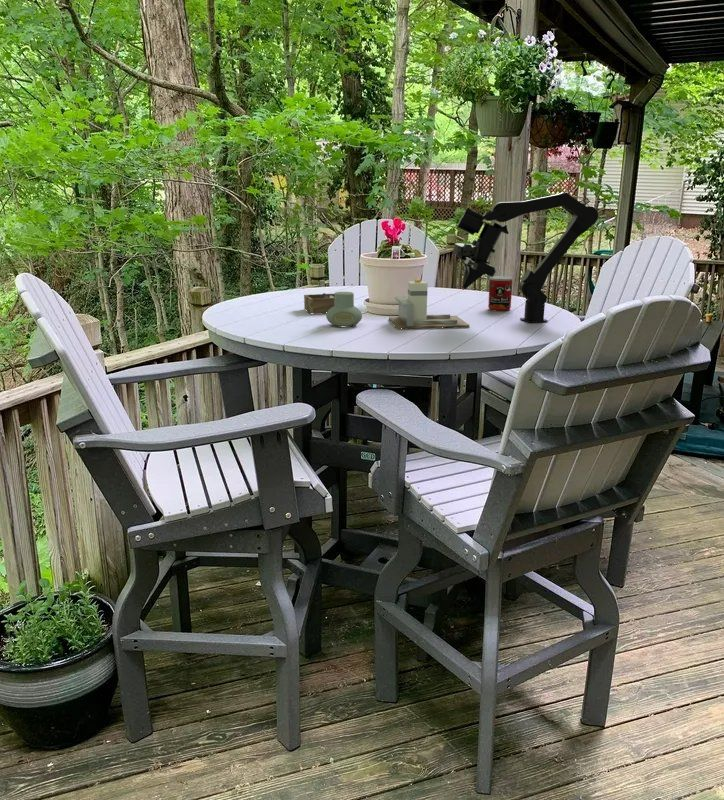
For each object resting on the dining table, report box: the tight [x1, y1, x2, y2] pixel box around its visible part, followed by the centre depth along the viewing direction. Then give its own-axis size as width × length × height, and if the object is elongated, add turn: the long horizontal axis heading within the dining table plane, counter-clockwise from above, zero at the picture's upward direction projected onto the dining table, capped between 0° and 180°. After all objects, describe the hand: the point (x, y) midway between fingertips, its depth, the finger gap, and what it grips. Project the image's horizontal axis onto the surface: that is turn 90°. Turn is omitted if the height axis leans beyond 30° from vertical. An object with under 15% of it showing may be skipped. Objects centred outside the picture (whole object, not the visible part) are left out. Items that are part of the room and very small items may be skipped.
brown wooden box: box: [303, 293, 335, 314], centre depth 235 cm, size 10×13×5 cm
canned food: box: [488, 275, 513, 312], centre depth 237 cm, size 8×8×11 cm
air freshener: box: [325, 291, 363, 327], centre depth 210 cm, size 11×8×10 cm
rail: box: [394, 296, 414, 326], centre depth 211 cm, size 3×15×7 cm, turn 7°
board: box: [388, 313, 471, 330], centre depth 213 cm, size 22×16×2 cm
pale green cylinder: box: [407, 278, 428, 321], centre depth 211 cm, size 5×5×13 cm
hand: (463, 288), depth 216 cm, fingers closed
